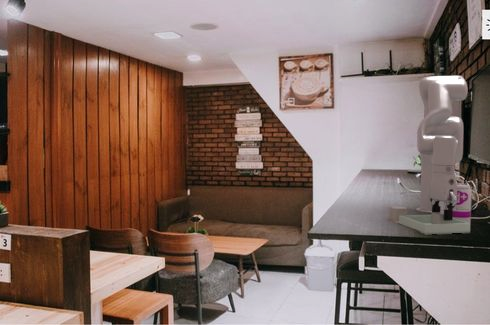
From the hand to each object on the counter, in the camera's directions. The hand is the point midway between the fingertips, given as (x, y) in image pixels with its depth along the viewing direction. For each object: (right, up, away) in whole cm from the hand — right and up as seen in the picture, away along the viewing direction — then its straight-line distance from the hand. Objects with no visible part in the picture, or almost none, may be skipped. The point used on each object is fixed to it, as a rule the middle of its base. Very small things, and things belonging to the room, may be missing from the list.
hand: (441, 218), depth 167 cm
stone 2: (0, -3, 0) cm, 3 cm away
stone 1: (-12, -2, +13) cm, 18 cm away
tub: (-3, -4, 0) cm, 5 cm away
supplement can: (+10, -4, +9) cm, 14 cm away
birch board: (-8, -3, +14) cm, 16 cm away
